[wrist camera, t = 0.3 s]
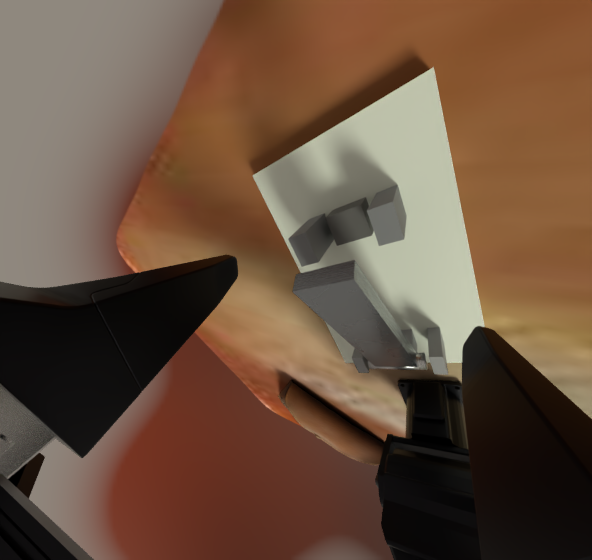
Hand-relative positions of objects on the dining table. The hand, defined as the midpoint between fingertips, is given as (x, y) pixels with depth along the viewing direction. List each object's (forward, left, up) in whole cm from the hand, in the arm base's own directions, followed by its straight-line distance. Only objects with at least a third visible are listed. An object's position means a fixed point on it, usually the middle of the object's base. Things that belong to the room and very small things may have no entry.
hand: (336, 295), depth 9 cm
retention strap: (-7, +2, -7) cm, 10 cm away
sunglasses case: (-31, +18, -14) cm, 39 cm away
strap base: (-5, +2, -14) cm, 15 cm away
